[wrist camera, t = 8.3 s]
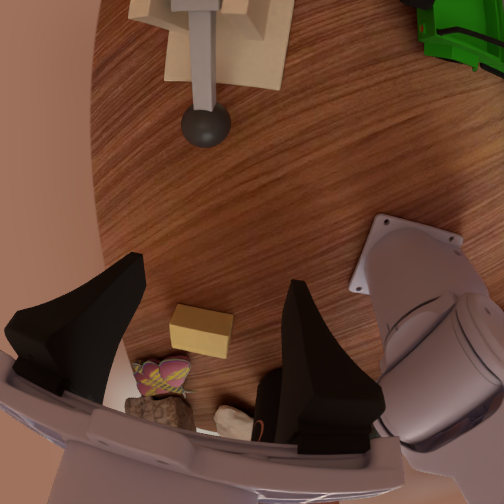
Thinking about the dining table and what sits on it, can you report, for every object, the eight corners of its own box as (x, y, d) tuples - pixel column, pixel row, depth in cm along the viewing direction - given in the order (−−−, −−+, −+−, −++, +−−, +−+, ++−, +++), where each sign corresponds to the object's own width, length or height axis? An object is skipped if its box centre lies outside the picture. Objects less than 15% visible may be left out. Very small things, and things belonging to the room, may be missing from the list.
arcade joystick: (235, 131, 18) (224, 161, 17) (191, 126, 18) (177, 155, 17) (244, -45, 8) (229, -44, 6) (182, -43, 8) (156, -39, 6)
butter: (233, 314, 30) (228, 336, 27) (230, 338, 32) (226, 359, 29) (177, 303, 30) (169, 323, 27) (179, 327, 32) (171, 347, 30)
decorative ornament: (151, 345, 31) (220, 383, 34) (156, 332, 33) (223, 370, 36) (115, 382, 40) (167, 410, 42) (120, 372, 41) (170, 400, 44)
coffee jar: (252, 362, 34) (231, 503, 19) (340, 359, 32) (345, 504, 17) (263, 400, 40) (249, 511, 25) (334, 398, 38) (334, 511, 23)
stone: (121, 374, 45) (201, 383, 45) (142, 428, 51) (210, 436, 51) (95, 427, 33) (189, 444, 33) (127, 475, 39) (203, 488, 39)
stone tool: (240, 448, 55) (238, 467, 51) (190, 391, 42) (183, 417, 37) (297, 447, 53) (296, 466, 48) (271, 388, 39) (269, 418, 35)
